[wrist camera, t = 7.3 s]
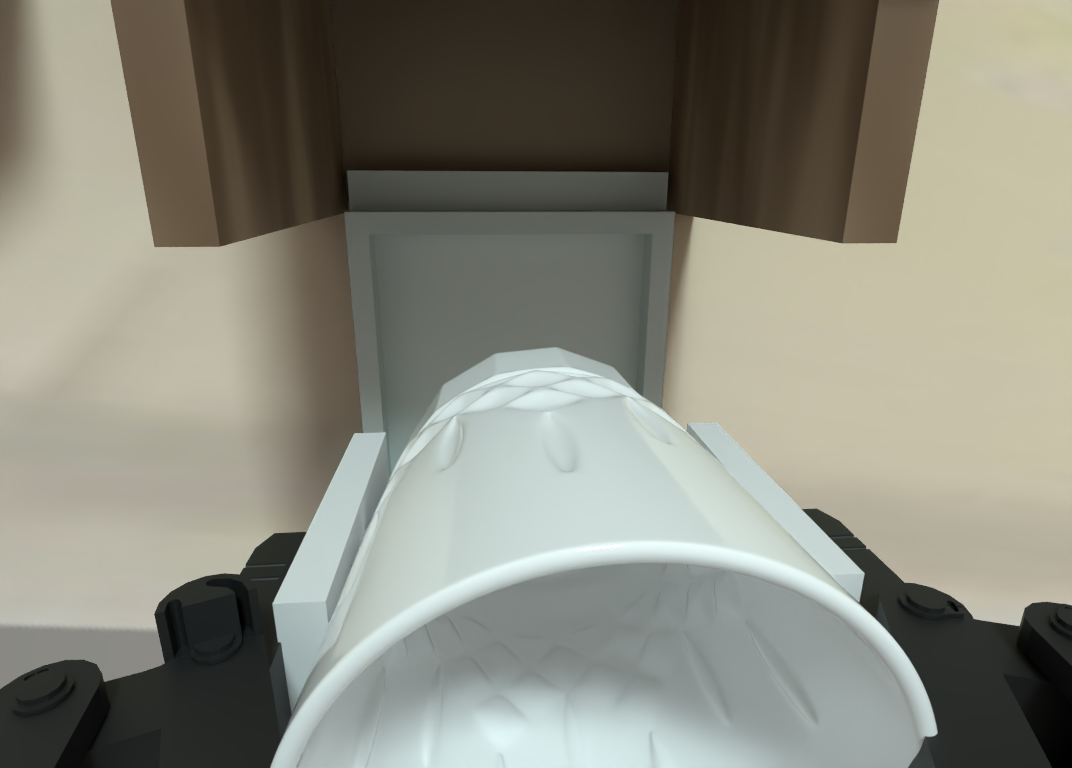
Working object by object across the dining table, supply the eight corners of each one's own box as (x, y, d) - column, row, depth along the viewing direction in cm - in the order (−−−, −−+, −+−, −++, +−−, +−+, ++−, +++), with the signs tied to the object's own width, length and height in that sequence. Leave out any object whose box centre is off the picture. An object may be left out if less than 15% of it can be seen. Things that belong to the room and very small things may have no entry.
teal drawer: (354, 489, 28) (330, 552, 23) (325, 170, 24) (288, 168, 19) (663, 477, 29) (699, 535, 25) (685, 172, 25) (734, 171, 21)
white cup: (740, 466, 17) (1060, 814, 8) (531, 643, 18) (588, 1133, 9) (543, 254, 15) (655, 382, 6) (319, 471, 16) (98, 880, 7)
